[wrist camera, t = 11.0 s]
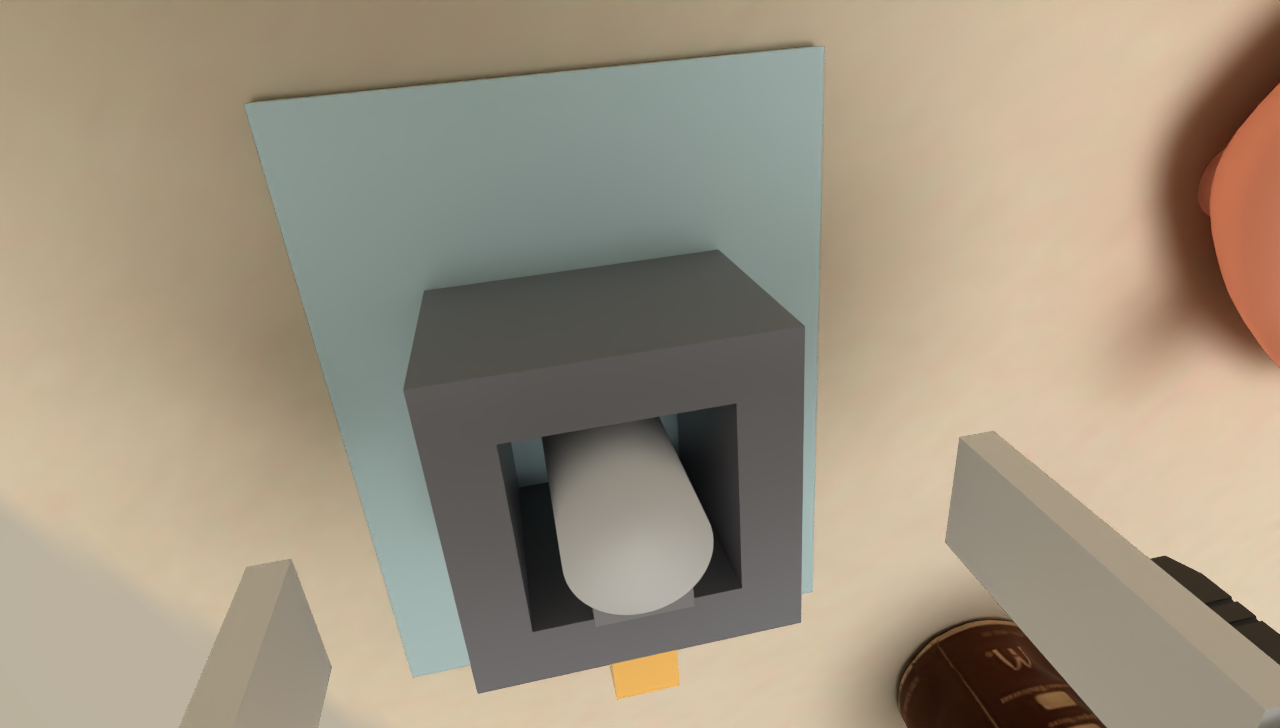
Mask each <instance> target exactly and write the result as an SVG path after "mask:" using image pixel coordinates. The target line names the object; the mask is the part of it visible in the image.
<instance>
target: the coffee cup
mask: <svg viewBox="0 0 1280 728" xmlns="http://www.w3.org/2000/svg"><path fill="white" fill-rule="evenodd" d="M898 701H899V704H898V705H899V711H900V713H901V715H902V718H903V719H904V721H905V723H906V726H907V727H908V728H1107V727H1106V726H1105V725H1104V724H1103V723H1102V722H1101V721H1100V719H1099V718H1098V717H1097V716H1096V715H1095V714H1094V713H1093V711H1092V710H1091V709H1090V708H1089V707H1088V706H1087V705H1086V703H1085V702H1084V701H1083V700H1082V699H1081V698H1080V697H1079V695H1078V694H1077V693H1076V692H1075V691H1074V690H1073V689H1072V687H1071V686H1070V685H1069V684H1068V683H1067V682H1066V680H1065V679H1064V678H1063V677H1062V676H1061V675H1060V674H1059V672H1058V671H1057V670H1056V669H1055V668H1054V667H1053V666H1052V664H1051V663H1050V662H1049V661H1048V660H1047V659H1046V658H1045V656H1044V655H1043V654H1042V653H1041V652H1040V651H1039V650H1038V648H1037V647H1036V646H1035V645H1034V644H1033V643H1032V642H1031V640H1030V639H1029V638H1028V637H1027V636H1026V635H1025V634H1024V632H1023V631H1022V630H1021V629H1020V628H1019V627H1018V626H1017V624H1016V623H1014V622H1010V621H1001V620H982V621H975V622H971V623H967V624H964V625H961V626H959V627H956V628H953V629H951V630H949V631H948V632H946V633H944V634H942V635H940V636H938V637H936V638H935V639H933V640H932V641H931V642H930V643H929V644H928V645H927V646H926V647H925V648H924V649H923V650H922V651H921V652H920V653H919V654H918V655H917V657H916V658H915V659H914V660H913V661H912V663H911V664H910V665H909V667H908V668H907V669H906V671H905V673H904V675H903V677H902V680H901V683H900V687H899V699H898Z"/></svg>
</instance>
